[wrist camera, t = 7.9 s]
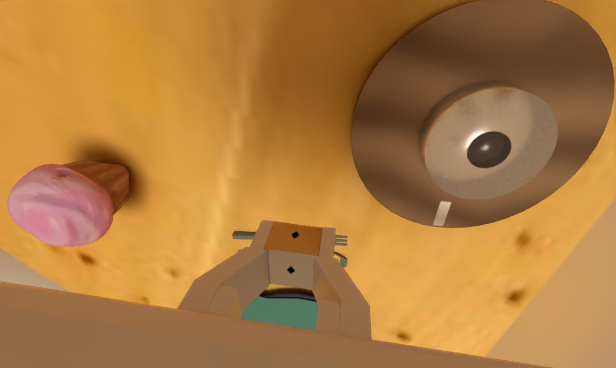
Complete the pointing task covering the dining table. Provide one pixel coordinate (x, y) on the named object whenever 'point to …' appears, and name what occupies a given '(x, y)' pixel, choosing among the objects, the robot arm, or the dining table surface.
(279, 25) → the dining table surface
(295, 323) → the cutlery set
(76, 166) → the cupcake
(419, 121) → the platter
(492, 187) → the cover
